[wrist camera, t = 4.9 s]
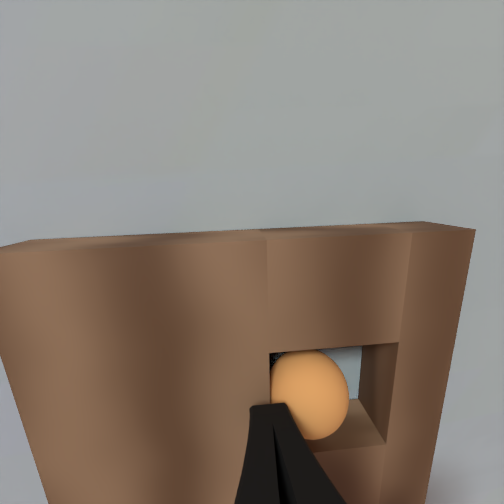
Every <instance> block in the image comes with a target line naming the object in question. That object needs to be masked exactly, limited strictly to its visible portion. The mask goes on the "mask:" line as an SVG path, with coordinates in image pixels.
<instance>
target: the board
mask: <svg viewBox="0 0 504 504" xmlns="http://www.w3.org/2000/svg"><path fill="white" fill-rule="evenodd" d="M475 231H476V229H470V228H463V227H457V226H450V225H444V224H437V223H431V222H424V221H420V222H399V223H378V224H356V225H335V226H314V227H293V228H272V229H250V230H229V231H208V232H187V233H166V234H144V235H123V236H102V237H81V238H60V239H38V240H28V241H24V242H20V243H16V244H12V245H8V246H3V247H0V356H1V359H2V362H3V365H4V368H5V371H6V374H7V377H8V380H9V384H10V387H11V390H12V393H13V396H14V399H15V402H16V405H17V408H18V411H19V414H20V417H21V420H22V423H23V427H24V430H25V433H26V436H27V439H28V442H29V445H30V448H31V451H32V454H33V457H34V460H35V463H36V466H37V470H38V473H39V476H40V479H41V482H42V485H43V488H44V491H45V494H46V497H47V500H48V503H49V504H234V502H235V498H236V493H237V489H238V485H239V481H240V477H241V472H242V468H243V462H244V457H245V451H246V446H247V439H248V432H249V418H250V412H249V408H250V407H251V406H253V405H264V404H270V374H269V353H276V352H288V351H300V350H312V349H324V348H336V347H348V346H360V345H363V349H362V361H361V373H360V384H359V396H358V399H352V400H349V406H348V411H347V414H346V417H345V419H344V421H343V423H342V424H341V425H340V427H339V428H338V429H337V430H336V431H335V432H334V433H332V434H331V435H329V436H327V437H325V438H322V439H316V440H309V439H305V441H306V442H307V444H308V446H309V448H310V449H311V451H312V452H313V454H314V456H315V457H316V459H317V460H318V462H319V464H320V465H321V467H322V468H323V470H324V471H325V473H326V474H327V476H328V477H329V479H330V480H331V482H332V483H333V485H334V486H335V488H336V489H337V490H338V492H339V493H340V495H341V496H342V498H343V499H344V500H345V502H346V503H347V504H425V499H426V494H427V488H428V483H429V478H430V472H431V467H432V462H433V456H434V451H435V445H436V440H437V435H438V429H439V424H440V419H441V413H442V408H443V403H444V397H445V392H446V387H447V381H448V376H449V370H450V365H451V360H452V354H453V349H454V344H455V338H456V333H457V328H458V322H459V317H460V311H461V306H462V301H463V295H464V290H465V285H466V279H467V274H468V269H469V263H470V258H471V253H472V247H473V242H474V236H475Z"/></svg>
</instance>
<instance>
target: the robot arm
mask: <svg viewBox="0 0 504 504" xmlns="http://www.w3.org/2000/svg"><path fill="white" fill-rule="evenodd" d="M249 412H250V418H249V432H248V439H247V446H246V451H245V457H244V462H243V468H242V472H241V477H240V481H239V485H238V489H237V493H236V498H235V502H234V504H347V503H346V502H345V500H344V499H343V498H342V496H341V495H340V493H339V492H338V490H337V489H336V488H335V486H334V485H333V483H332V482H331V480H330V479H329V477H328V476H327V474H326V473H325V471H324V470H323V468H322V467H321V465H320V464H319V462H318V460H317V459H316V457H315V456H314V454H313V452H312V451H311V449H310V448H309V446H308V444H307V442H306V441H305V439H304V437H303V436H302V434H301V432H300V430H299V428H298V427H297V425H296V423H295V421H294V419H293V417H292V415H291V413H290V411H289V409H288V406H287V405H286V404H285V403H274V404H264V405H253V406H251V407H250V408H249Z"/></svg>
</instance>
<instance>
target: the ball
mask: <svg viewBox="0 0 504 504" xmlns="http://www.w3.org/2000/svg"><path fill="white" fill-rule="evenodd" d="M269 374H270V404H274V403H285V404H286V405H287V406H288V409H289V411H290V413H291V415H292V417H293V419H294V421H295V423H296V425H297V427H298V428H299V430H300V432H301V434H302V436H303V437H304V439H309V440H316V439H322V438H325V437H327V436H329V435H331V434H332V433H334V432H335V431H336V430H337V429H338V428H339V427H340V425H341V424H342V423H343V421H344V419H345V417H346V414H347V411H348V406H349V392H348V386H347V383H346V380H345V377H344V375H343V373H342V371H341V370H340V368H339V367H338V365H337V364H336V363H335V362H334V361H333V360H332V359H331V358H330V357H328V356H327V355H326V354H324V353H322V352H320V351H318V350H315V349H312V350H300V351H288V352H286V353H284V354H283V355H282V356H280V357H279V358H278V359H277V360H276V362H275V363H274V365H273V366H272V368H271V370H270V373H269Z"/></svg>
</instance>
